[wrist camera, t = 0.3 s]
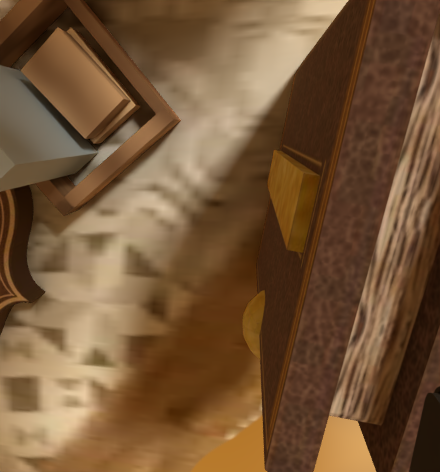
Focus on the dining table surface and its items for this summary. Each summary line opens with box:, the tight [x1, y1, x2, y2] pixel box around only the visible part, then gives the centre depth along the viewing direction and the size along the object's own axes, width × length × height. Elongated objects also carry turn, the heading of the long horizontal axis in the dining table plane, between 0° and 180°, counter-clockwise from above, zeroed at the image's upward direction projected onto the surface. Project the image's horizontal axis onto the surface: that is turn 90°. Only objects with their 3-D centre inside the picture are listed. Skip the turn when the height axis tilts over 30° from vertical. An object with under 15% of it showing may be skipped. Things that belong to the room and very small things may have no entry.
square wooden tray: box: [0, 0, 181, 216], centre depth 36 cm, size 13×14×4 cm
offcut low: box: [67, 28, 141, 144], centre depth 37 cm, size 5×8×2 cm, turn 39°
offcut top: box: [20, 28, 131, 139], centre depth 34 cm, size 5×7×2 cm, turn 43°
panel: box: [0, 65, 98, 192], centre depth 31 cm, size 3×9×14 cm, turn 39°
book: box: [242, 0, 440, 472], centre depth 26 cm, size 22×8×25 cm, turn 170°
